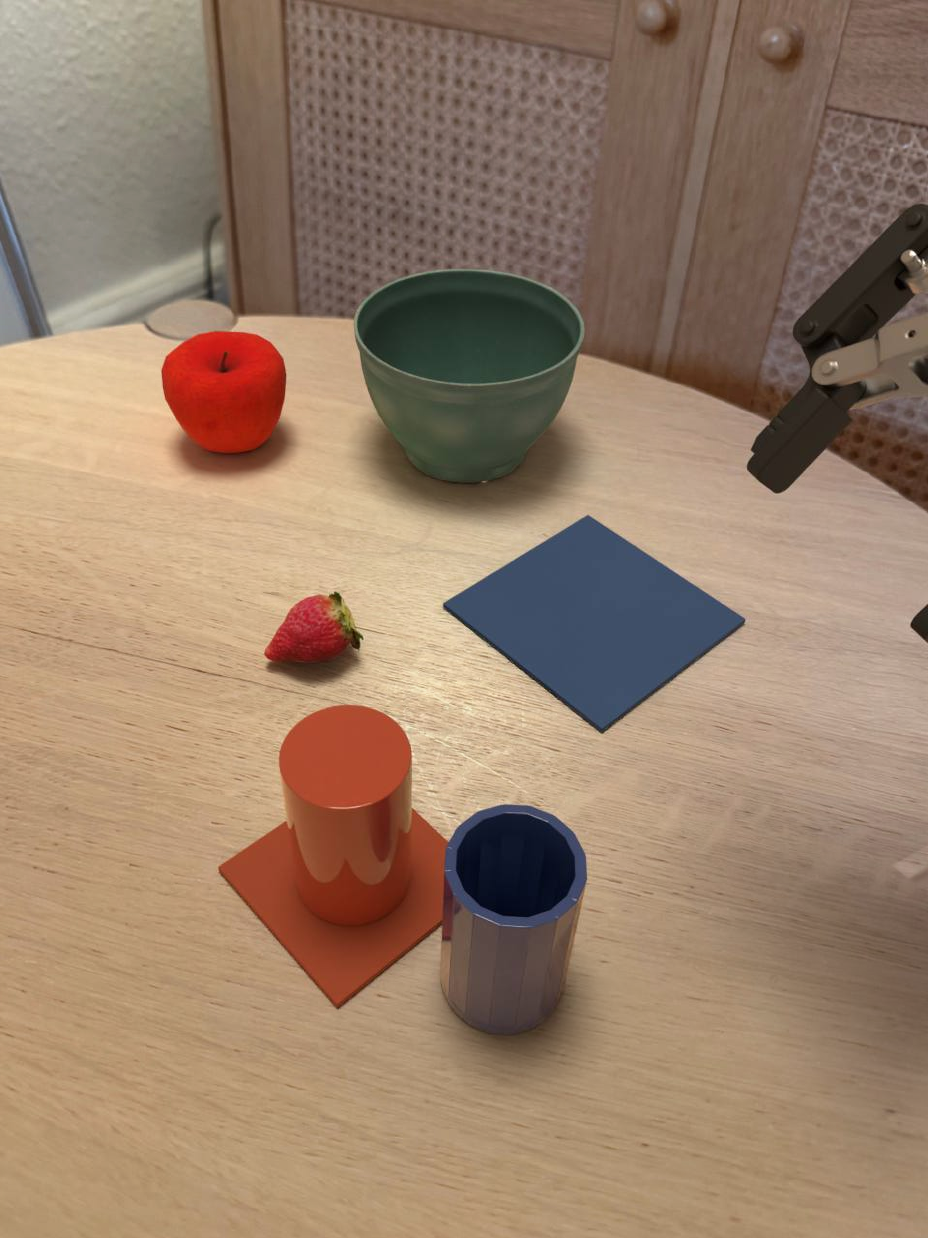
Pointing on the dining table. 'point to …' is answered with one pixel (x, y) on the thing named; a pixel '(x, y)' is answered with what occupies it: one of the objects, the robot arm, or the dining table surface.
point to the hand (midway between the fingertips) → (838, 555)
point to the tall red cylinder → (349, 812)
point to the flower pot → (467, 367)
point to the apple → (225, 389)
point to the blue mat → (594, 620)
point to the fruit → (315, 631)
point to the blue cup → (509, 916)
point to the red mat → (331, 949)
